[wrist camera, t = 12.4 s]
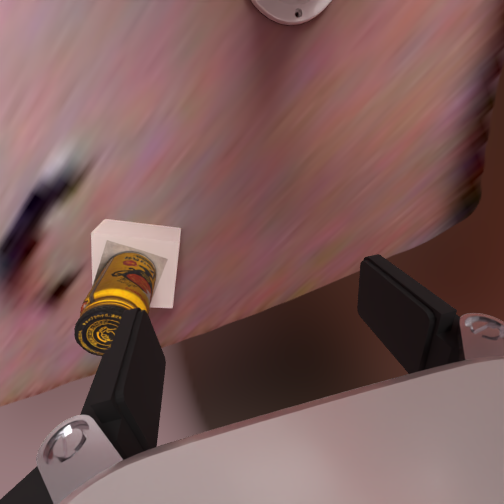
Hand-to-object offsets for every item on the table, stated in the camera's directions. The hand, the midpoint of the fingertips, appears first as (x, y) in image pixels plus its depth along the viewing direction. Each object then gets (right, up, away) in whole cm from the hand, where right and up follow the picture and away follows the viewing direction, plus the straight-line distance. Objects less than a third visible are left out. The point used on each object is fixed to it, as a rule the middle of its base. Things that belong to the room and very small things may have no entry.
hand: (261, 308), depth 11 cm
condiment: (-16, -1, +23) cm, 28 cm away
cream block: (-17, +2, +28) cm, 33 cm away
